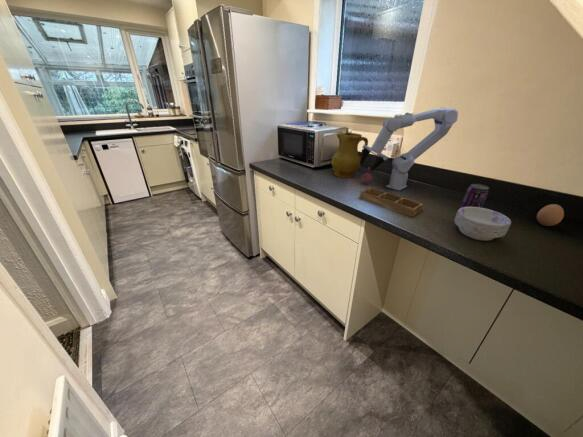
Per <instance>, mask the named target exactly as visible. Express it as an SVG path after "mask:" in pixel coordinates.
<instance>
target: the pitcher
mask: <svg viewBox="0 0 583 437" xmlns="http://www.w3.org/2000/svg"><path fill="white" fill-rule="evenodd" d="M336 137H337V138H338V142H339V143H338V148H337V150H336V152H334V154H333V156H332V158H331V167H332V168H331V169H332V170H333V171H334V173H333V176H335V177H338V178H343V179H348V178H349V179H350V178H353V177H354V176H355V175H354V174H355V173H356V172H357V171H358V170H359V168H360V167H361V164H360V160H361V155H360V154H359V150H358V147H359V144H360V143H361V142H364V145H367V146H369V139H368V138H367V137H365V136H363V135H362V134H360V133H357V132H350V131H349V132H343V133H341V132H340V133H337V134H336Z"/></svg>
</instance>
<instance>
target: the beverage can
mask: <svg viewBox="0 0 583 437" xmlns="http://www.w3.org/2000/svg"><path fill="white" fill-rule="evenodd" d="M489 190H490V187H489V186H487V185H484V184H480V183H471V184H470V186H469V187H468V188H467V189H466V192H465V194H464V197H463V199H462V202H461V205H460V207H459V209H460V208H462V207H480V208H483V207H484V204H485V203H486V199H487V197H488V195H489V193H490V192H489Z"/></svg>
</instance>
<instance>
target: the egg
mask: <svg viewBox="0 0 583 437" xmlns="http://www.w3.org/2000/svg"><path fill="white" fill-rule="evenodd" d="M564 217H565V211H564V208H563V207H562V206H561V205H559V204H556V203H551V204H548V205H545V206H544V207H542V208H541V209H540V210H538V212H537V214H536V220H537V222H538V223H539V224H540V225H541V226H545V227H553V226H556V225H558V224H559V223H561V222H562V220H563V219H564Z"/></svg>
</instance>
